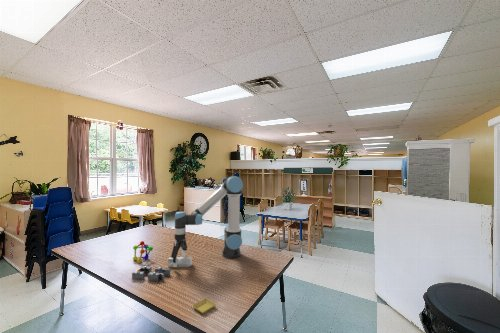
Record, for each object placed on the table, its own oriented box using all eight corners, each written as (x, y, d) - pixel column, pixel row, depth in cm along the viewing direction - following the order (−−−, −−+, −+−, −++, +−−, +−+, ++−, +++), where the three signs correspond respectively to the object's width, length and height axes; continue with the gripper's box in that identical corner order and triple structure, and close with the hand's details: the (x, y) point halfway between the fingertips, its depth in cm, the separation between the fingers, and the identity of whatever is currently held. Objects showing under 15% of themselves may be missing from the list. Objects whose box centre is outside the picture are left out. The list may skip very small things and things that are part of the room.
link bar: (191, 265, 161) (191, 257, 161) (190, 267, 157) (190, 258, 157) (169, 265, 161) (169, 257, 161) (168, 267, 157) (168, 258, 157)
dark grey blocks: (171, 274, 146) (171, 267, 146) (162, 281, 136) (162, 274, 136) (142, 272, 149) (142, 265, 149) (132, 279, 139) (132, 271, 139)
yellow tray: (202, 316, 104) (202, 312, 104) (191, 309, 110) (192, 305, 110) (216, 308, 110) (216, 304, 110) (206, 301, 116) (206, 297, 116)
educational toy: (155, 260, 172) (156, 241, 172) (140, 266, 161) (141, 246, 161) (143, 254, 180) (144, 236, 179) (127, 260, 169) (129, 240, 168)
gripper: (183, 228, 172) (182, 256, 172) (166, 238, 148) (165, 270, 147) (192, 229, 171) (191, 256, 171) (176, 238, 146) (175, 270, 146)
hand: (179, 262), depth 159 cm, fingers open, 13 cm apart
